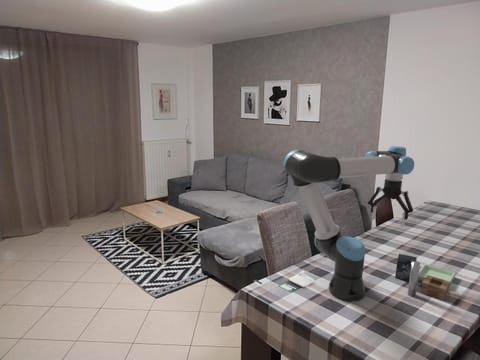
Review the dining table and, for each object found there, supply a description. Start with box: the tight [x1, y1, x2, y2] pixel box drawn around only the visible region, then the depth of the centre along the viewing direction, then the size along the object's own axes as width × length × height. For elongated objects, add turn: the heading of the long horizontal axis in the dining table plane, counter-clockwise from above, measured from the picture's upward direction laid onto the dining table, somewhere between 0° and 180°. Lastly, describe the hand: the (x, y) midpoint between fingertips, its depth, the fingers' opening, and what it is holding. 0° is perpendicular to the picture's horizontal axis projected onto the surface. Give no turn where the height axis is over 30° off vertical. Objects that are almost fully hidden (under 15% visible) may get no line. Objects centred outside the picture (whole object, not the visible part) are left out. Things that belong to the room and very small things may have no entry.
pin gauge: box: [407, 260, 421, 298], centre depth 148 cm, size 3×3×15 cm
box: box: [394, 253, 417, 282], centre depth 164 cm, size 8×6×11 cm
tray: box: [418, 263, 456, 288], centre depth 164 cm, size 16×14×2 cm
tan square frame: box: [420, 275, 451, 301], centre depth 152 cm, size 9×9×5 cm
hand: (387, 222), depth 168 cm, fingers open, 13 cm apart
